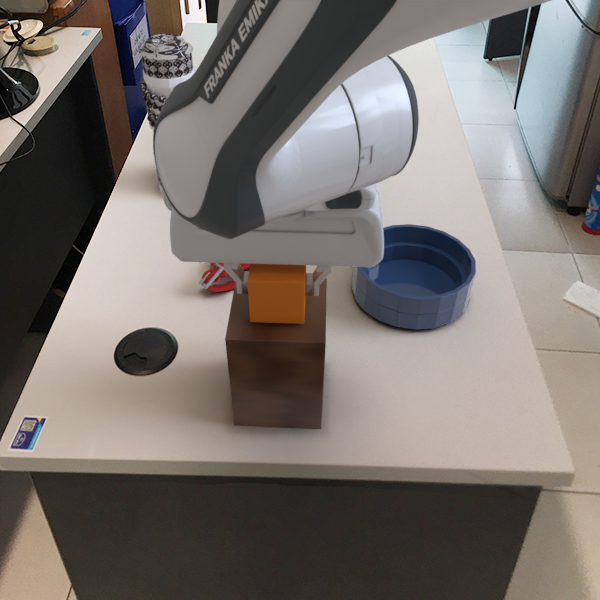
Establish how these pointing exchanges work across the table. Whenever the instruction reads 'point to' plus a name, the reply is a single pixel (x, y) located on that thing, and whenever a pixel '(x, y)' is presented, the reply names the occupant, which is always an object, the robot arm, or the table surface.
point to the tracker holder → (214, 274)
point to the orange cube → (277, 293)
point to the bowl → (416, 278)
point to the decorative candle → (163, 71)
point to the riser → (277, 366)
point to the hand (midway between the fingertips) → (279, 291)
